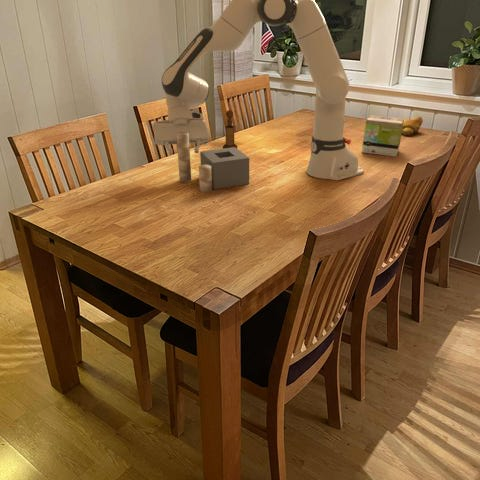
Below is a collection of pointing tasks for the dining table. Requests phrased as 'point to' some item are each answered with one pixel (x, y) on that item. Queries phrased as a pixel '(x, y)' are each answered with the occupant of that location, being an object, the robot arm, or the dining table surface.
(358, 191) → the dining table surface
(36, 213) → the dining table surface
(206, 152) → the hole block
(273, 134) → the dining table surface
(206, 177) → the short pin
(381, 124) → the tea box
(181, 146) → the tall pin
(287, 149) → the dining table surface
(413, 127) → the golden brown lumpy piece
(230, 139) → the brown pedestal statuette
